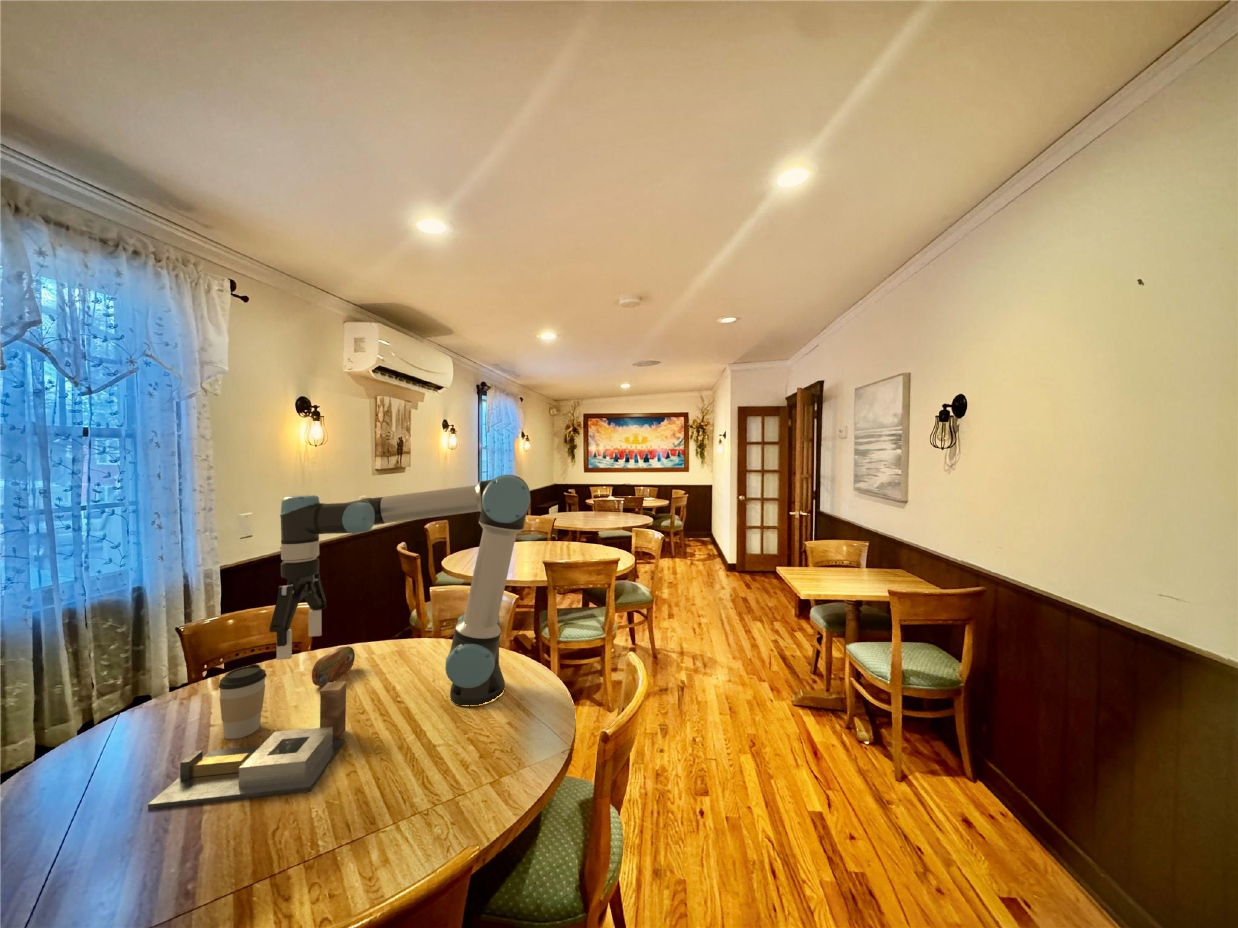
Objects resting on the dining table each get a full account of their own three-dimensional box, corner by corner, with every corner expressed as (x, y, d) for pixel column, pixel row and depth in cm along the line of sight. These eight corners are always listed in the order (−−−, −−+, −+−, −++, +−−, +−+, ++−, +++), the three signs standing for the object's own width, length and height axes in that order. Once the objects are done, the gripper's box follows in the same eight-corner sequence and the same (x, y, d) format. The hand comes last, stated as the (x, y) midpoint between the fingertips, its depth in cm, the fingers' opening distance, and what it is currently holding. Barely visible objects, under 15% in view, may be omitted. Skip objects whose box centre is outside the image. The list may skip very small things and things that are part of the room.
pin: (250, 762, 95) (250, 745, 95) (238, 773, 91) (239, 756, 91) (193, 767, 93) (194, 751, 93) (180, 779, 89) (180, 762, 89)
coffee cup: (237, 744, 102) (238, 680, 103) (207, 739, 104) (208, 676, 104) (274, 722, 111) (275, 663, 111) (246, 717, 113) (247, 660, 113)
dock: (345, 741, 104) (345, 720, 104) (310, 791, 88) (310, 766, 88) (210, 754, 99) (210, 732, 99) (148, 809, 83) (148, 783, 83)
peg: (346, 729, 108) (346, 681, 108) (338, 740, 104) (339, 689, 104) (327, 731, 108) (328, 682, 108) (319, 742, 104) (319, 691, 104)
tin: (319, 691, 126) (319, 662, 127) (309, 691, 127) (309, 662, 127) (355, 667, 141) (355, 642, 142) (346, 667, 142) (346, 641, 142)
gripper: (310, 549, 117) (310, 628, 117) (248, 572, 93) (249, 671, 93) (340, 548, 119) (340, 626, 118) (288, 570, 94) (288, 668, 94)
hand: (300, 646), depth 106 cm, fingers open, 13 cm apart
